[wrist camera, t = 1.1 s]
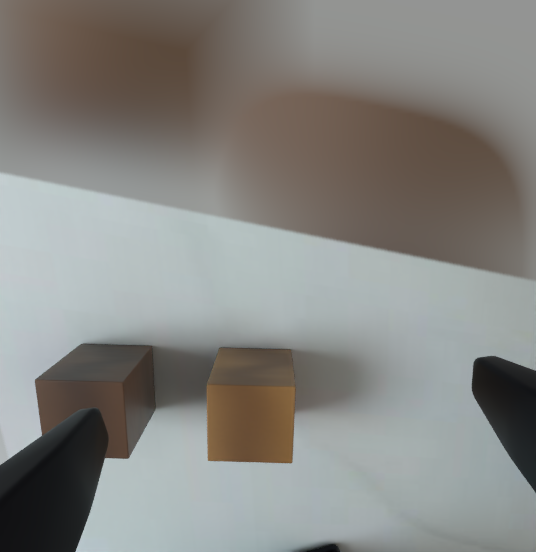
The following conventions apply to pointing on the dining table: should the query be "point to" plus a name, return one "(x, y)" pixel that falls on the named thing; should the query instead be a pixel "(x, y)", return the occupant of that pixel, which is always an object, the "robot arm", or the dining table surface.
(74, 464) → the robot arm
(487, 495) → the dining table surface
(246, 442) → the oak block
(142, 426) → the walnut block
